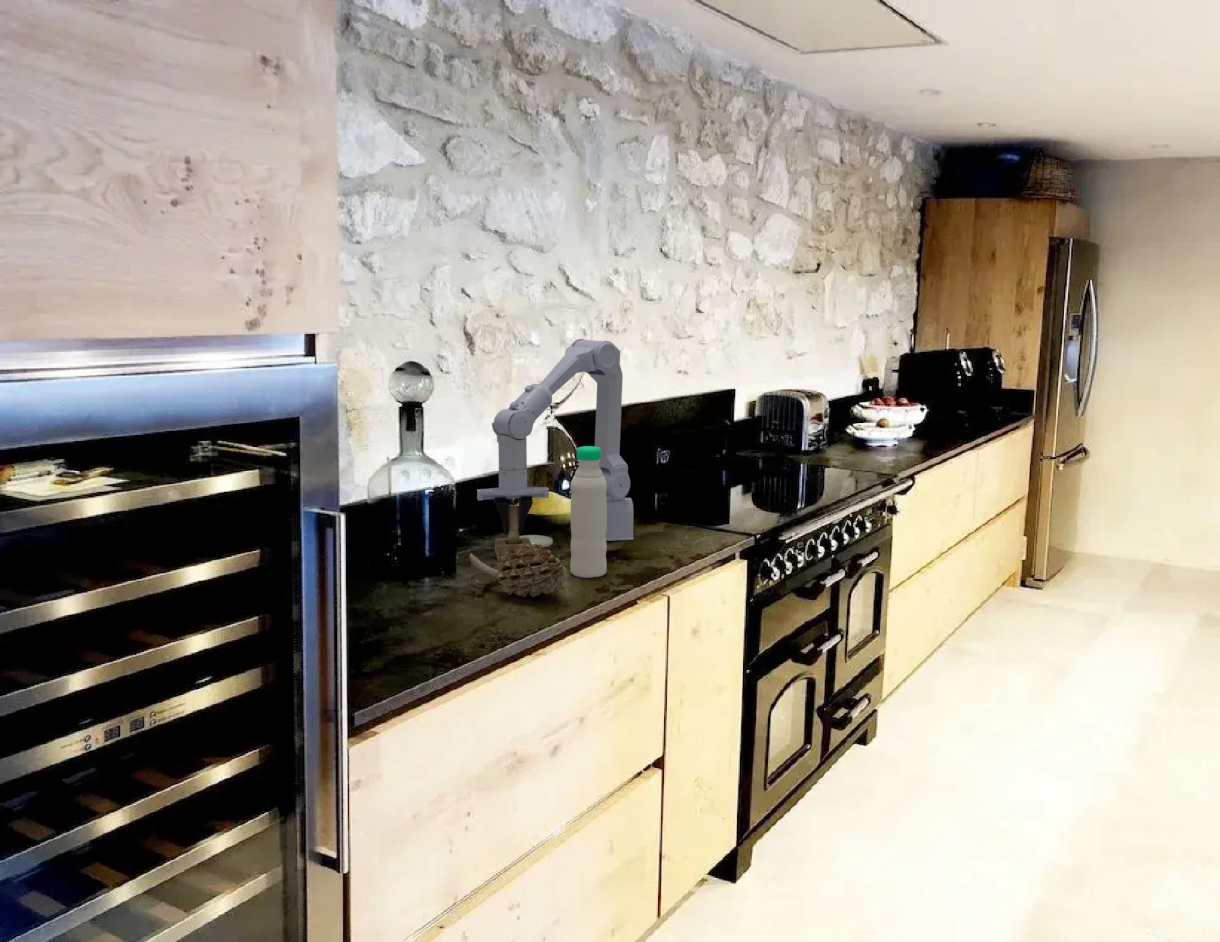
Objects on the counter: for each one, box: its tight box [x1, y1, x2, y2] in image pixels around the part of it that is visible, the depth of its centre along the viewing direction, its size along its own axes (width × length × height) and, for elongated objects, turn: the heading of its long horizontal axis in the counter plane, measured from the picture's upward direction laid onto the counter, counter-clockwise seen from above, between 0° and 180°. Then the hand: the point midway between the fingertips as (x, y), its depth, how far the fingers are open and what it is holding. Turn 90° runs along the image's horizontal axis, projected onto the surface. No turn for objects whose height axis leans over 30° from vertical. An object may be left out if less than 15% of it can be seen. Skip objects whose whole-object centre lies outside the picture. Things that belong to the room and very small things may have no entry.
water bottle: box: [570, 445, 608, 579], centre depth 210 cm, size 7×7×25 cm
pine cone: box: [468, 544, 567, 598], centre depth 198 cm, size 22×10×10 cm, turn 61°
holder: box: [494, 537, 532, 562], centre depth 225 cm, size 7×7×3 cm
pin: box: [507, 504, 520, 544], centre depth 224 cm, size 2×2×9 cm
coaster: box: [519, 534, 554, 548], centre depth 236 cm, size 9×9×1 cm
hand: (513, 532), depth 224 cm, fingers closed on pin, 2 cm apart
